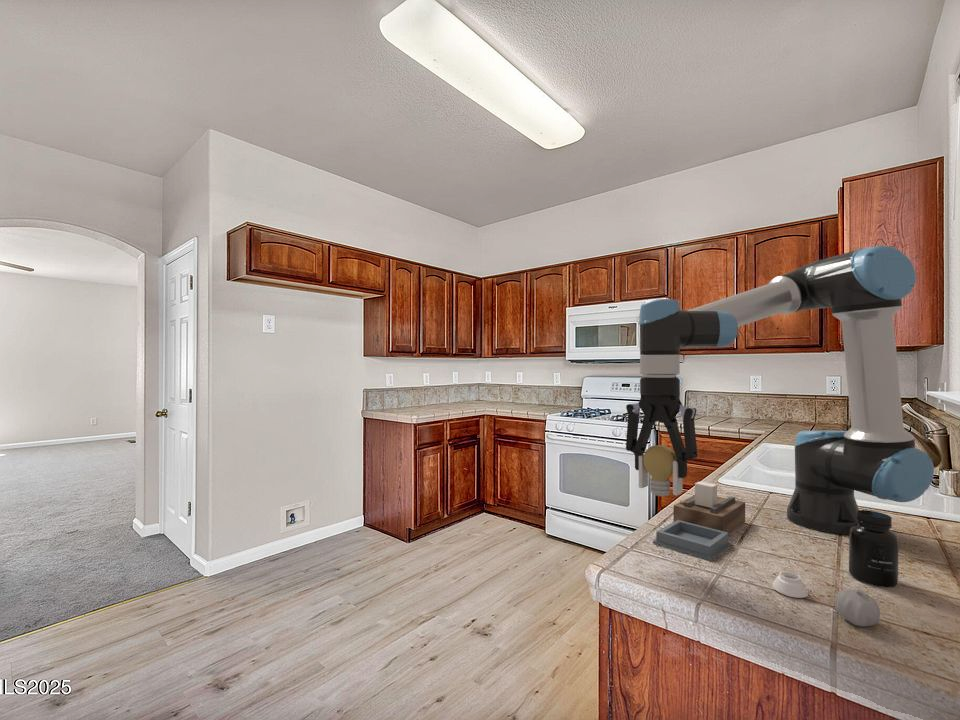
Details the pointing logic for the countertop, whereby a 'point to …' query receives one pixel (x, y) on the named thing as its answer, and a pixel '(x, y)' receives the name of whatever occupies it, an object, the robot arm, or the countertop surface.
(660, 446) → the light bulb
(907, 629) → the countertop surface
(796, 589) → the white conical ring
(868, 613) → the garlic
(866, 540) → the supplement bottle
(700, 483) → the toggle
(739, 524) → the switch box
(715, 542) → the tray
